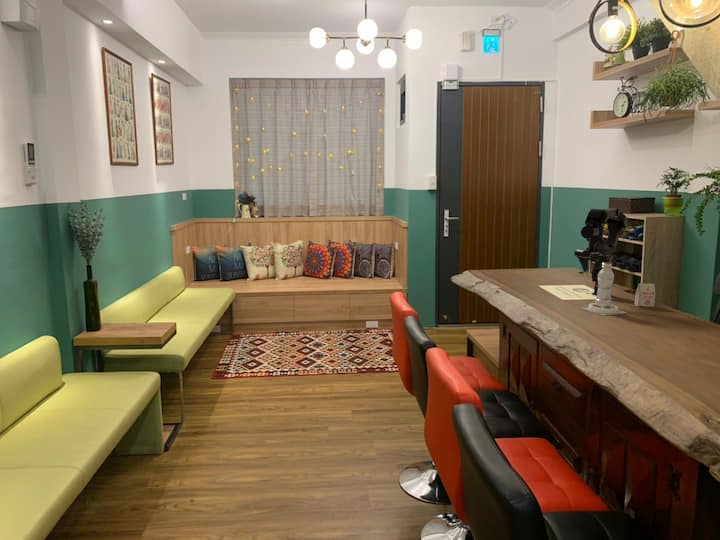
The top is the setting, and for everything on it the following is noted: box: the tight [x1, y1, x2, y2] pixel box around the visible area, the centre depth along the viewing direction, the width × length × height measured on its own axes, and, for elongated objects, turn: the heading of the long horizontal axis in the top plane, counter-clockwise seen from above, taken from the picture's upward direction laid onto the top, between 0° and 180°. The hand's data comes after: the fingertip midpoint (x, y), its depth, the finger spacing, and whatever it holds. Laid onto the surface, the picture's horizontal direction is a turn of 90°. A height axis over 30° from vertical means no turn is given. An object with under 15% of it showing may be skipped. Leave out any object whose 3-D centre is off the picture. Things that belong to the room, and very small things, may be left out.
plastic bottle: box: [594, 262, 615, 309], centre depth 240 cm, size 6×7×20 cm
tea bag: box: [634, 283, 656, 308], centre depth 251 cm, size 4×7×10 cm, turn 89°
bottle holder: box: [579, 302, 628, 317], centre depth 242 cm, size 13×13×2 cm
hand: (592, 271), depth 261 cm, fingers open, 9 cm apart
